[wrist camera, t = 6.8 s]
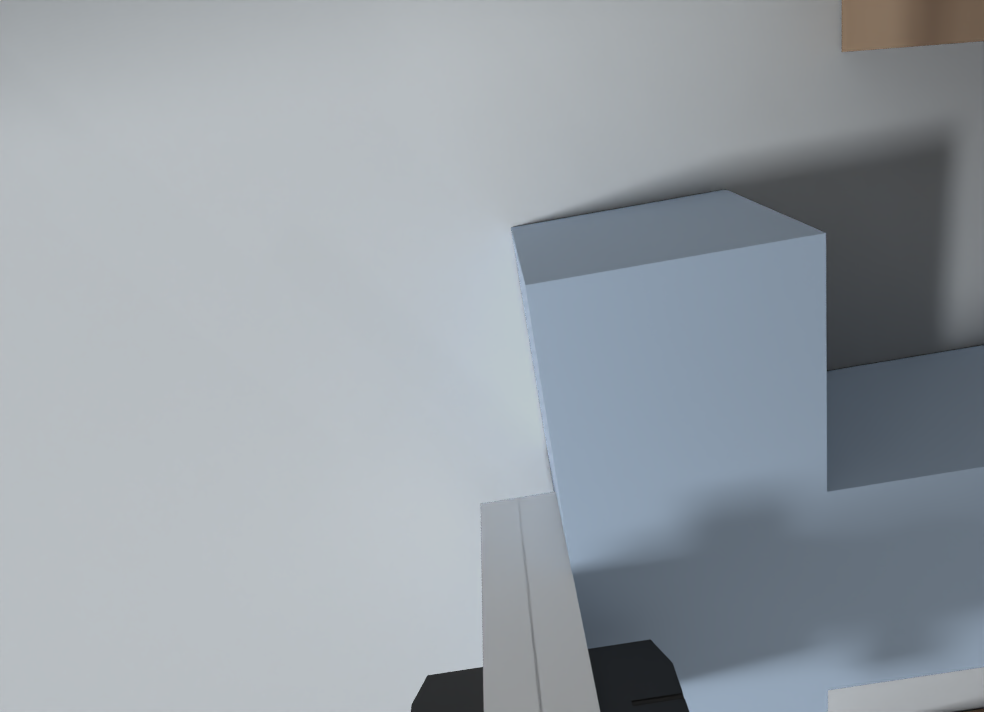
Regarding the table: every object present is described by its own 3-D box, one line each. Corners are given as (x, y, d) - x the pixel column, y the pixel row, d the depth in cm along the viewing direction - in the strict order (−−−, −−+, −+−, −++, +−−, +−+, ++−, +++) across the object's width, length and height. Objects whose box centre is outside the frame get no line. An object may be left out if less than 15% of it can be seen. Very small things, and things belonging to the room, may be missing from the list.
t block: (590, 707, 18) (621, 876, 14) (510, 227, 13) (525, 285, 10) (1001, 645, 17) (1148, 802, 13) (1058, 130, 13) (1297, 150, 9)
